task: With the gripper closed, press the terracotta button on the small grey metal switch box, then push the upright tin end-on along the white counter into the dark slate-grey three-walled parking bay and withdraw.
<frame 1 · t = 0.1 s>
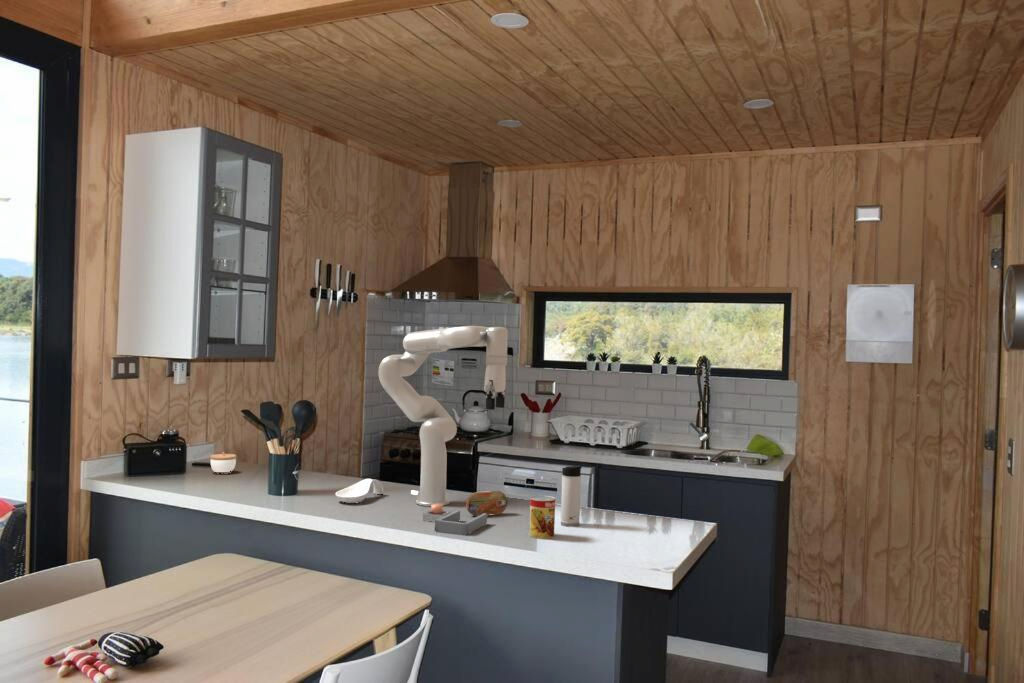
hand: (495, 408, 293), 37 cm above the table, tool pointing down, fingers open, 9 cm apart
button: (436, 508, 274), point 4 cm above the table, slide at 0.0 cm
tin: (486, 515, 284), on the table
canned food: (541, 536, 256), on the table
switch box: (436, 519, 274), on the table
bay: (462, 527, 264), on the table
lidded jar: (222, 473, 352), on the table
travel mug: (570, 525, 272), on the table
spoon rest: (360, 500, 305), on the table
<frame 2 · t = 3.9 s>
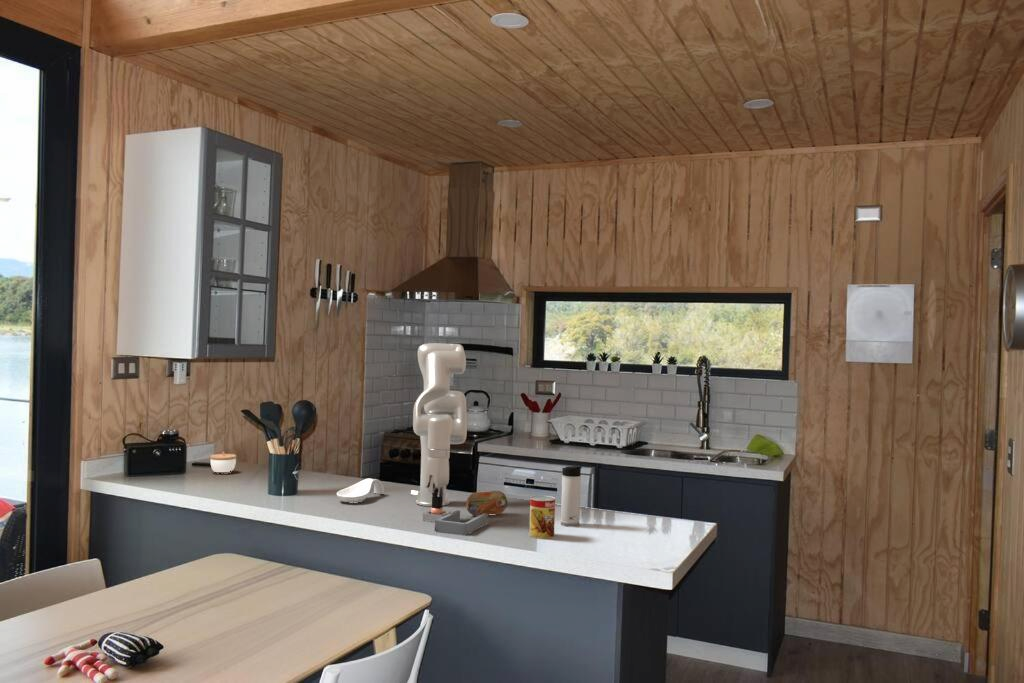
hand: (437, 507, 274), 4 cm above the table, tool pointing down, fingers closed
button: (436, 511, 274), point 3 cm above the table, slide at 0.9 cm, touching gripper
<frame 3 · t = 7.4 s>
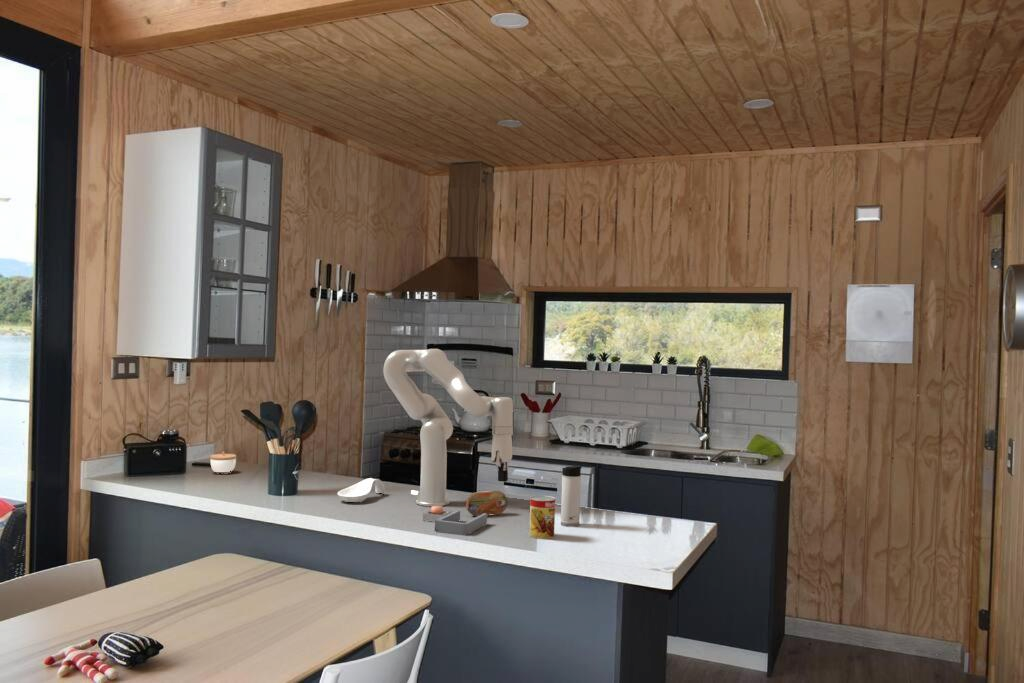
hand: (502, 480, 296), 10 cm above the table, tool pointing down, fingers closed
button: (436, 510, 274), point 3 cm above the table, slide at 0.6 cm
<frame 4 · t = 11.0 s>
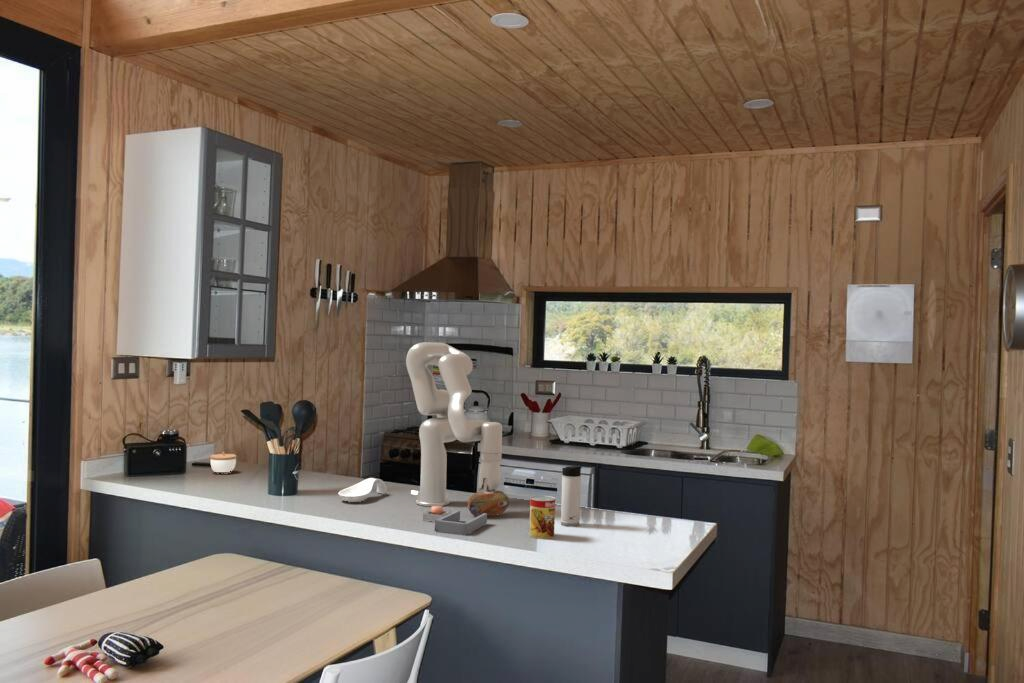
hand: (489, 508, 287), 2 cm above the table, tool pointing down, fingers closed
tin: (486, 514, 283), on the table, touching gripper
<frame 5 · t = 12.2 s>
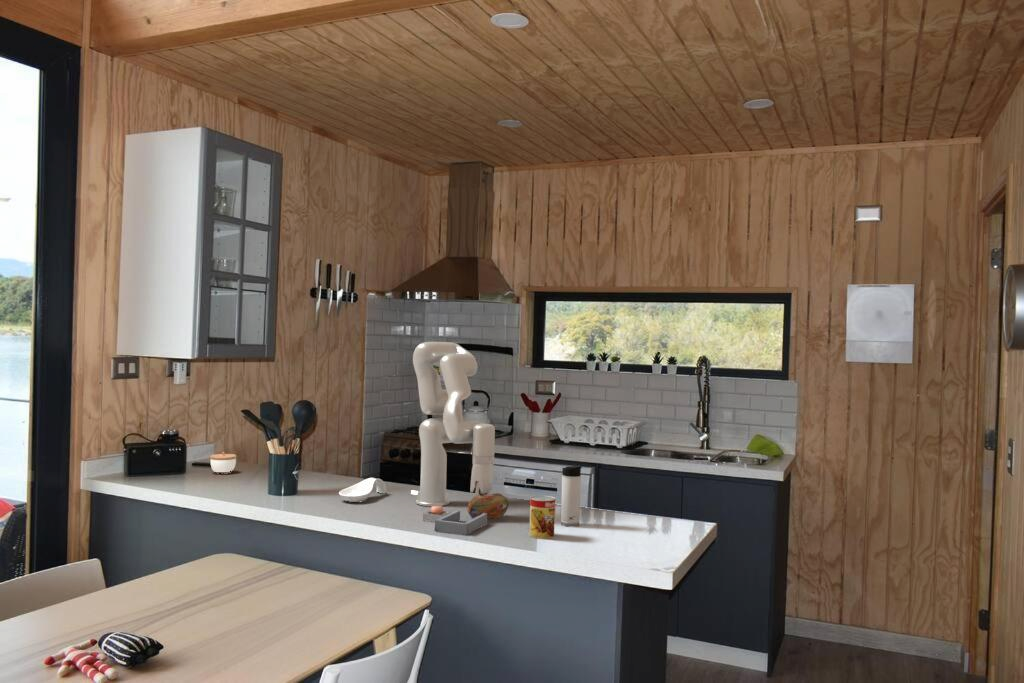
hand: (481, 512, 280), 2 cm above the table, tool pointing down, fingers closed
tin: (485, 517, 278), on the table, touching gripper
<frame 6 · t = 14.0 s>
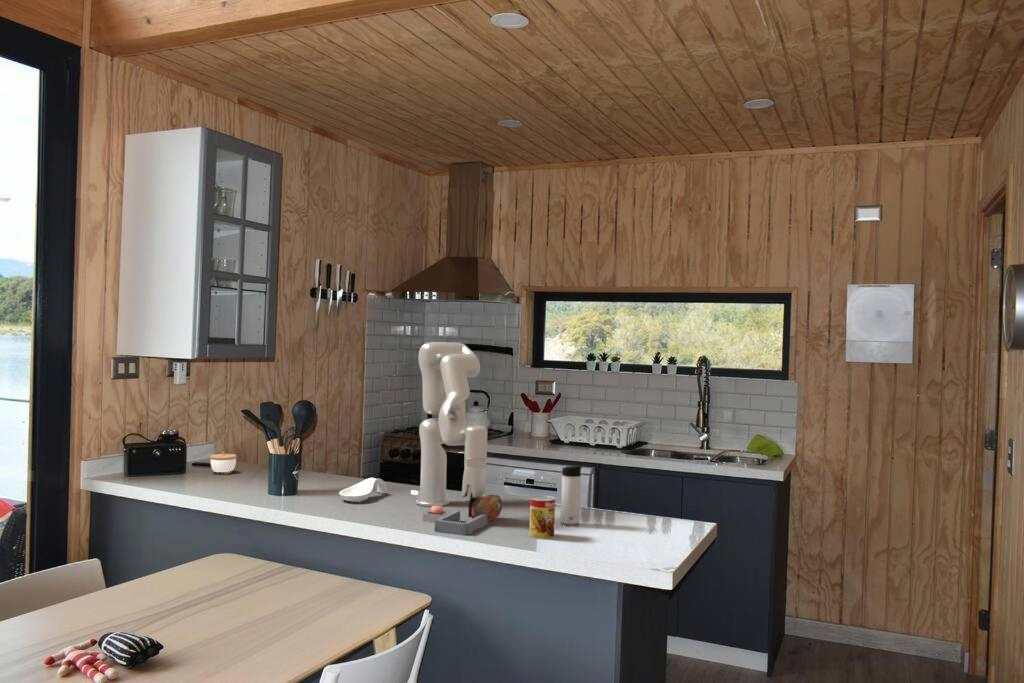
hand: (473, 516, 273), 1 cm above the table, tool pointing down, fingers closed
tin: (485, 521, 274), on the table, touching gripper
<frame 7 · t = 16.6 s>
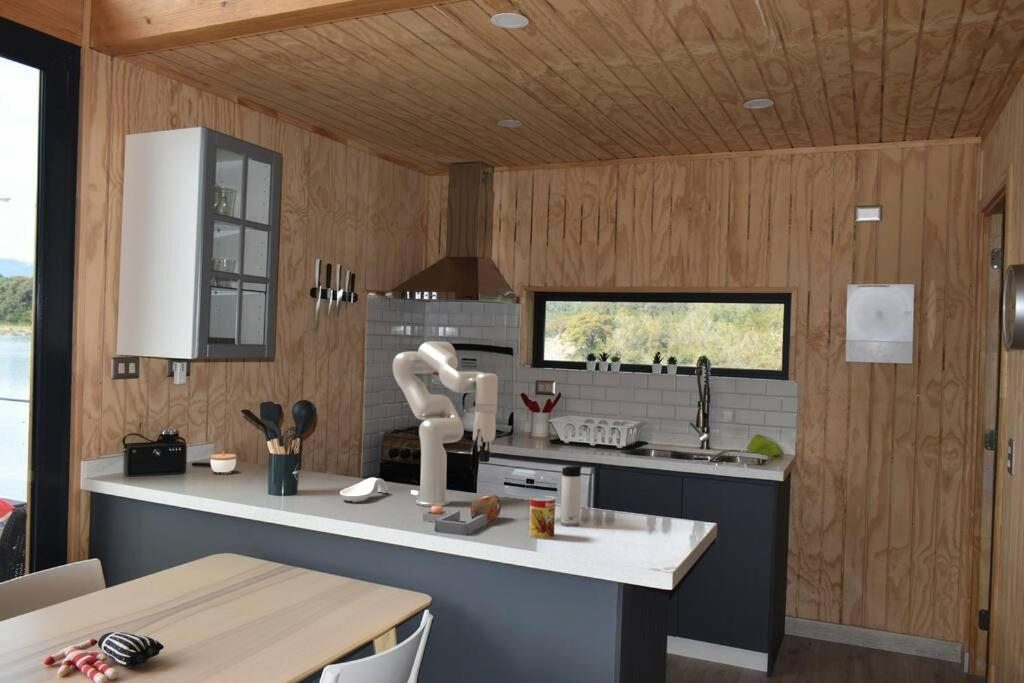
hand: (484, 461, 282), 19 cm above the table, tool pointing down, fingers closed
tin: (485, 521, 274), on the table
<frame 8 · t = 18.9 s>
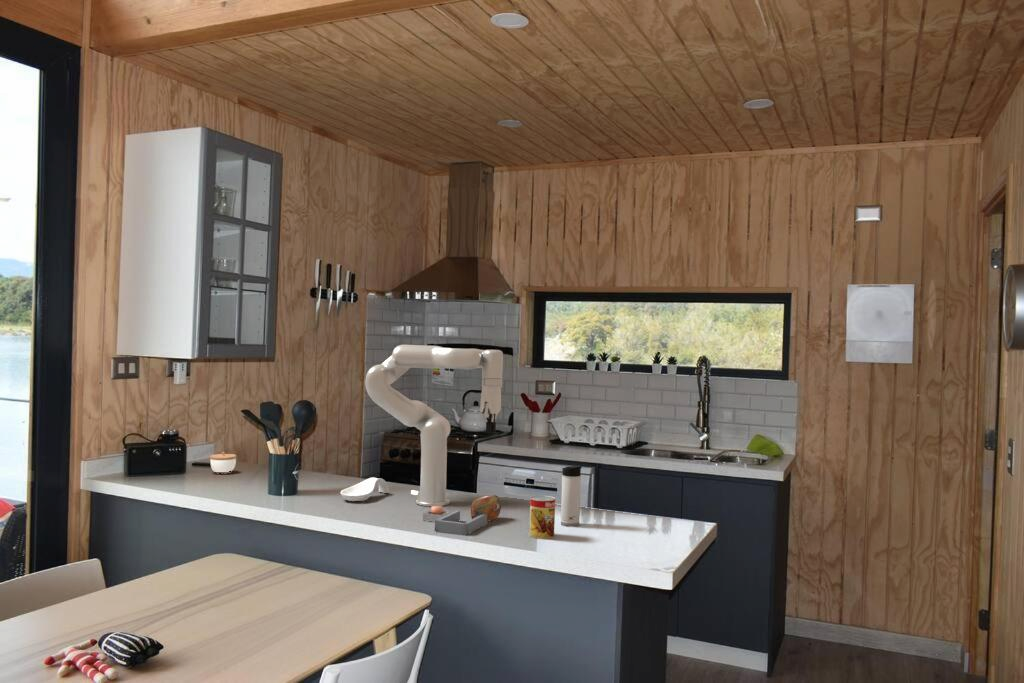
hand: (490, 432, 300), 27 cm above the table, tool pointing down, fingers closed
at the end: tin inside the target area (9.4 cm from its centre), on the table; tin tilted 0°; tin moved 9.5 cm from its start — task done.
